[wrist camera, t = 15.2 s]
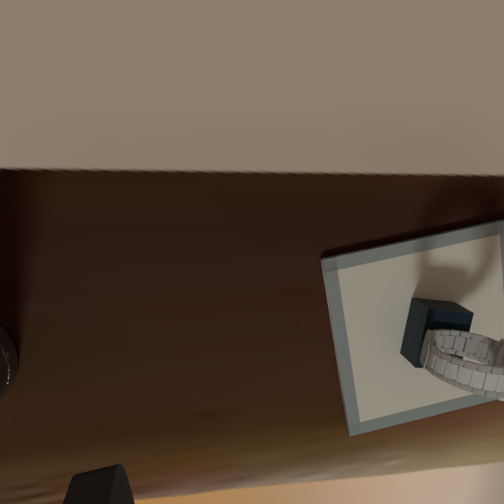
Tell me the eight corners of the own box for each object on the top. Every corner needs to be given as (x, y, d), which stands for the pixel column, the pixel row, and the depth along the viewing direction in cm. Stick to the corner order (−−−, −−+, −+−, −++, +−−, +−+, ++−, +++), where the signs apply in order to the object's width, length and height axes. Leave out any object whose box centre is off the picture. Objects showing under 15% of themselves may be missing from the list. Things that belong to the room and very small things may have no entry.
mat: (347, 432, 46) (350, 436, 45) (320, 258, 42) (322, 259, 41) (517, 390, 48) (521, 393, 47) (506, 218, 43) (511, 219, 43)
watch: (460, 358, 45) (543, 421, 34) (382, 351, 44) (443, 415, 33) (473, 302, 44) (564, 350, 33) (394, 294, 43) (461, 341, 32)
